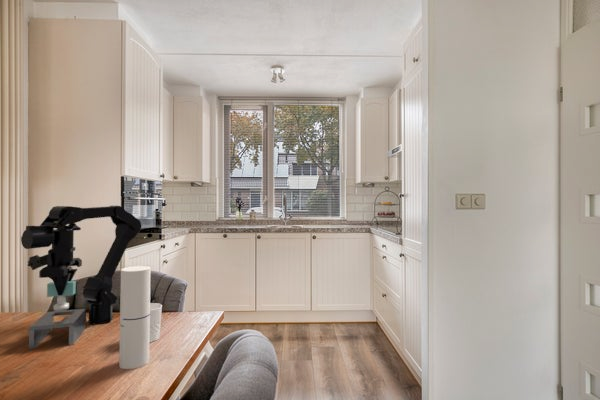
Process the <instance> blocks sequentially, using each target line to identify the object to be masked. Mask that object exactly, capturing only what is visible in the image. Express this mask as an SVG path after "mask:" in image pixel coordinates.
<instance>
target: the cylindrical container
mask: <svg viewBox="0 0 600 400" xmlns="http://www.w3.org/2000/svg"><path fill="white" fill-rule="evenodd" d="M151 268H152V267H150V266H147V265H146V266H145V265H137V266H135V265H134V266H127V267H123V268H121V269H120V296H119V297H120V302H119V303H120V305H119V306H120V307H119V361H118V363H119V364H118V365H119V368H120V369H122V370H134V369H139V368H143V367H145V366H146V365H147V364H149V362H150V342H149V339H150V303H151V270H152V269H151Z"/></svg>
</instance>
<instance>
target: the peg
mask: <svg viewBox="0 0 600 400" xmlns="http://www.w3.org/2000/svg"><path fill="white" fill-rule="evenodd" d="M76 282H77V281H76V280H72V281H68V282H67V285H66V287H65V290H64V292H63V295H58V293H57V290H56V287H55V285H54V282H53V281H51V282H47V286H46V291H47V292H46V298H50V297H51V298H52V297H56V299H57V302H56V303H55V304H54V305H53V311H64V310H70V309H69V308H70V302H67V300H66V298H67V297H69V296H74V295H75V294H76V293H77V292H76V290H77V289H76V284H77V283H76Z"/></svg>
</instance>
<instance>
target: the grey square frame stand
mask: <svg viewBox="0 0 600 400" xmlns="http://www.w3.org/2000/svg"><path fill="white" fill-rule="evenodd" d="M68 315H70V316H68ZM56 316H64V318H63V319H61V321H55V318H54V317H56ZM56 328H57V329H58V328H68V346H72V345H74V344H75V343H76V342H77V341H78V339H79V338H80V336H81V335H82V334H83V333H84V331H85V330H86V328H87V308H79V309H67V310H63V311H54V310H53V311H46V312H45V313H44V314H43V315H42V316H40V317H39V318H38V319H37V320H35V321H34V322H33V323H32V324H31V325H30V326H28V350H34V349H35V348H36V347H37V346H39V345H40V344H41V342H42V341H43V340H44V339H45V338H47V336H48V335H49V334H50V333H51V332H52V329H56Z"/></svg>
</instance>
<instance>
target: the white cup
mask: <svg viewBox="0 0 600 400" xmlns="http://www.w3.org/2000/svg"><path fill="white" fill-rule="evenodd" d="M162 312H163V304H161V303H159V302H158V303H155V302H150V339H149V343H151V342H152V343H153V342H155V341H157V340H159V338H160V337H161V326H162V325H161V324H162Z"/></svg>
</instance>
